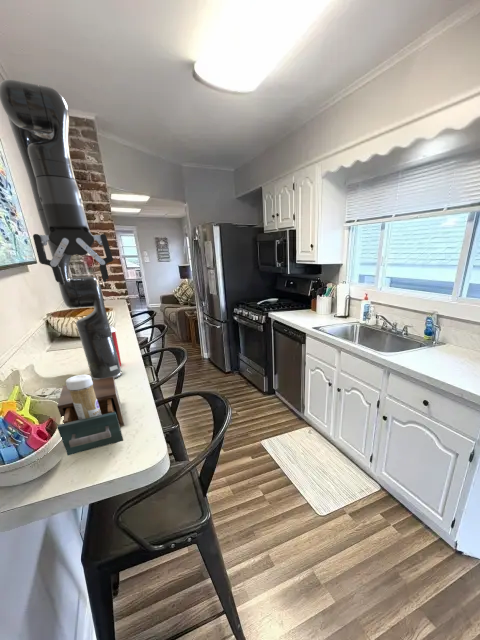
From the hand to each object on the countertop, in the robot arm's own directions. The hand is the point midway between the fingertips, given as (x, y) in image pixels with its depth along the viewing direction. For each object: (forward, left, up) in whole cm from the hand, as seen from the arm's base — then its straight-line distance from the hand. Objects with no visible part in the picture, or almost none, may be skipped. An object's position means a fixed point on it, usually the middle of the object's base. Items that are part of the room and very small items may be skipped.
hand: (84, 283), depth 73 cm
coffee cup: (-41, 0, -33) cm, 53 cm away
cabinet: (+5, -5, -33) cm, 34 cm away
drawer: (+17, -5, -32) cm, 37 cm away
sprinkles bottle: (+16, -5, -31) cm, 36 cm away
